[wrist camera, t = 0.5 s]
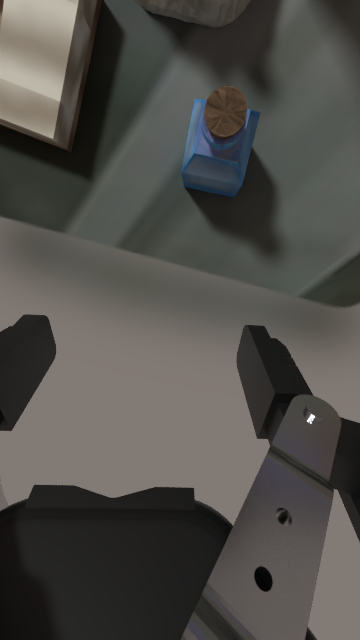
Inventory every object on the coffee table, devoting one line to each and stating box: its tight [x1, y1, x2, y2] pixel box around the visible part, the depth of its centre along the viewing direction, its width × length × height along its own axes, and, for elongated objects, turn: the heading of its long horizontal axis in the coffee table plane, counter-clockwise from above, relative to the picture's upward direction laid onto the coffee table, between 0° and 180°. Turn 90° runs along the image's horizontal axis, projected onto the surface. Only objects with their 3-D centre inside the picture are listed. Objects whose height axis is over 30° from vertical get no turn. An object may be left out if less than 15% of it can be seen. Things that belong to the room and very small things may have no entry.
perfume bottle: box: [181, 86, 260, 198], centre depth 24 cm, size 6×6×12 cm
